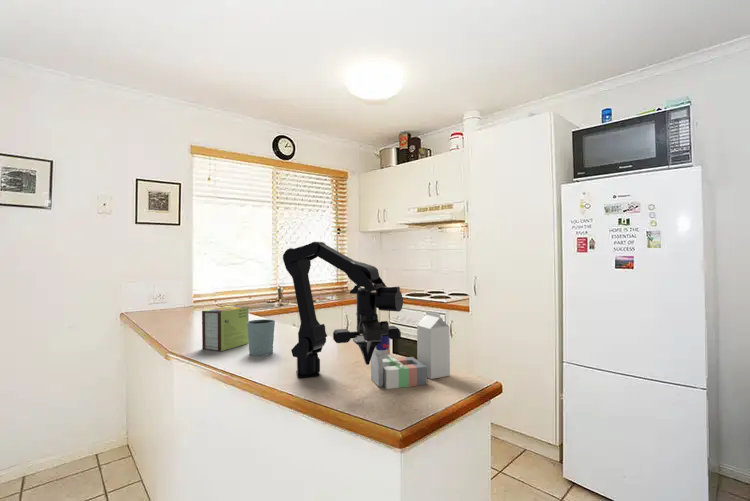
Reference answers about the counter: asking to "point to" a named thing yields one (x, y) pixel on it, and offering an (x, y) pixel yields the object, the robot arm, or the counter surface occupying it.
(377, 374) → the t-handle square plate
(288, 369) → the counter surface
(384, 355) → the energy drink
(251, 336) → the grey teal cup
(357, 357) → the counter surface
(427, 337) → the milk carton
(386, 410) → the counter surface
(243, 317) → the protein box
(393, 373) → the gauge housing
